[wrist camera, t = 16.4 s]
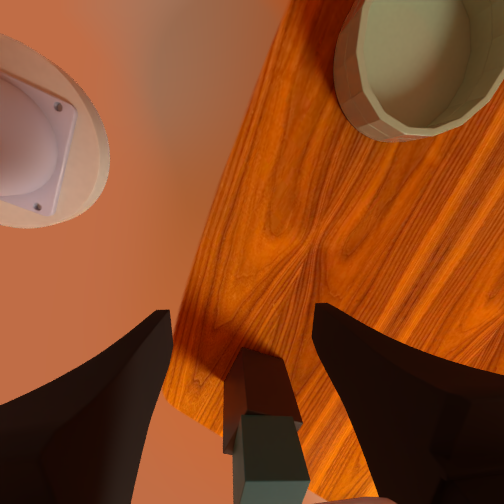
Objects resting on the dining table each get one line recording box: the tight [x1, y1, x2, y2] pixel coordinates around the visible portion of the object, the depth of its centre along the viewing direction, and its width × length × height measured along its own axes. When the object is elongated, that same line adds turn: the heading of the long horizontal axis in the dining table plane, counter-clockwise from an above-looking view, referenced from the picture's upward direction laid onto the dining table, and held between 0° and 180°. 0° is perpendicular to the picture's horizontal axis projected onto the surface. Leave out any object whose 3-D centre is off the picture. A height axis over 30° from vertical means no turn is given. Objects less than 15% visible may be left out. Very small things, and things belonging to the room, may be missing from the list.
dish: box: [333, 0, 504, 142], centre depth 16 cm, size 11×11×4 cm
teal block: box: [232, 415, 310, 504], centre depth 17 cm, size 4×4×4 cm
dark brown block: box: [223, 347, 303, 455], centre depth 22 cm, size 5×5×7 cm
